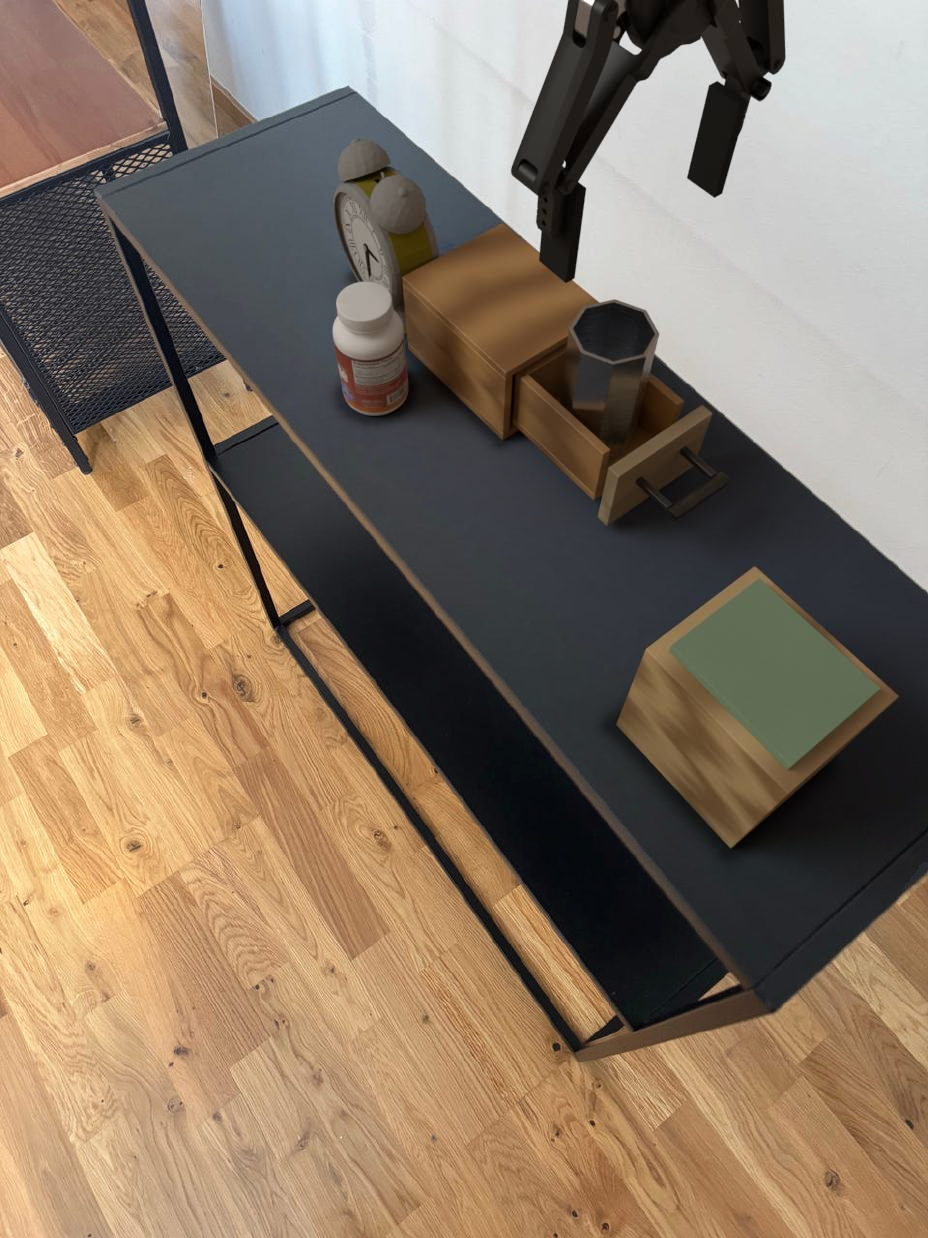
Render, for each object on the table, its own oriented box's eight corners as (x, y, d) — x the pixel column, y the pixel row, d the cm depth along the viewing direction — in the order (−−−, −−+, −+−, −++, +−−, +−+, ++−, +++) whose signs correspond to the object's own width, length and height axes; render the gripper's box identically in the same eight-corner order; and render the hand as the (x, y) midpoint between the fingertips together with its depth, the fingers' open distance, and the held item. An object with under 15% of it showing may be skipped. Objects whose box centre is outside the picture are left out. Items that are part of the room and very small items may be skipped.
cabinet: (597, 381, 84) (609, 310, 76) (502, 440, 80) (505, 372, 73) (500, 296, 89) (502, 222, 82) (407, 348, 86) (401, 276, 78)
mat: (876, 693, 54) (881, 688, 54) (787, 771, 52) (791, 766, 51) (755, 583, 58) (759, 577, 57) (668, 651, 56) (670, 645, 55)
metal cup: (642, 422, 79) (668, 318, 68) (613, 473, 76) (636, 372, 66) (576, 396, 80) (593, 290, 70) (546, 445, 78) (558, 343, 67)
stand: (825, 765, 66) (899, 696, 54) (730, 849, 63) (788, 794, 51) (708, 651, 70) (755, 565, 59) (615, 724, 67) (645, 648, 56)
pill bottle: (346, 368, 85) (329, 273, 75) (410, 368, 85) (402, 273, 75) (341, 418, 82) (323, 326, 72) (407, 418, 82) (399, 326, 72)
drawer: (734, 500, 76) (756, 449, 70) (646, 564, 73) (661, 516, 67) (591, 375, 83) (601, 319, 77) (506, 429, 80) (508, 375, 74)
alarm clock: (341, 277, 91) (319, 137, 78) (398, 252, 92) (386, 111, 79) (399, 346, 86) (385, 211, 73) (458, 319, 88) (455, 182, 75)
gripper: (825, -264, 46) (722, 128, 65) (445, -118, 39) (453, 275, 58) (943, -215, 43) (800, 180, 62) (556, -48, 36) (526, 341, 55)
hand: (632, 226), depth 60 cm, fingers open, 13 cm apart
